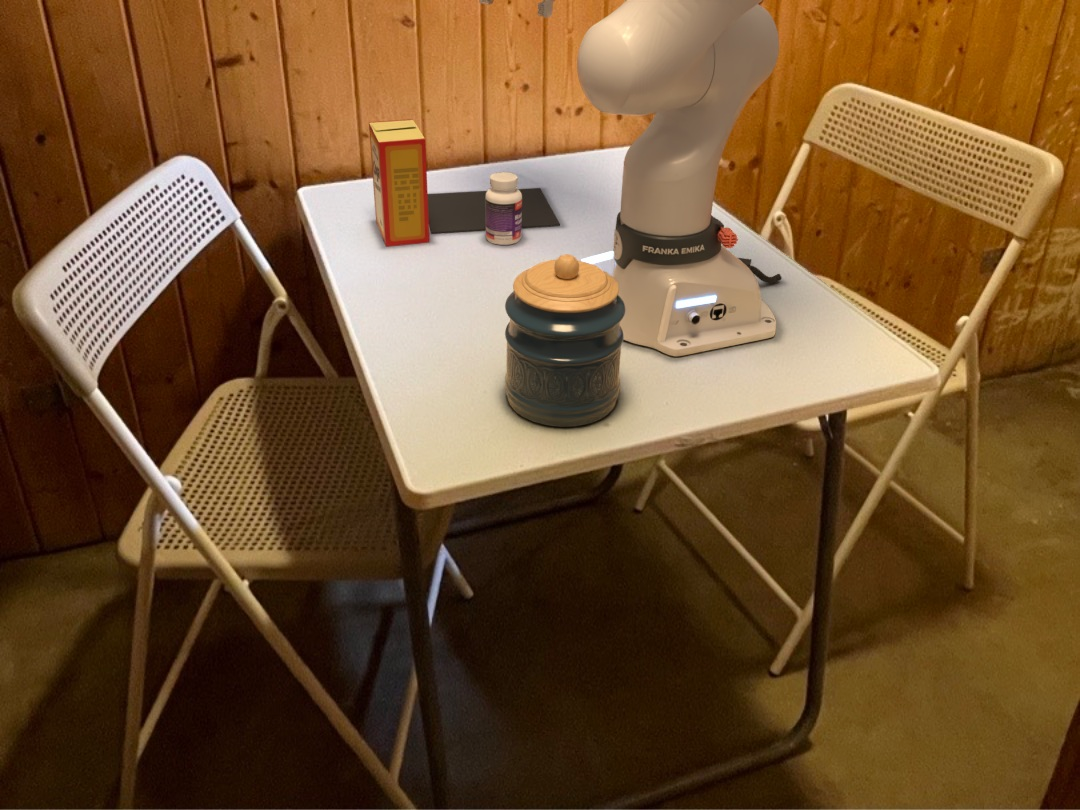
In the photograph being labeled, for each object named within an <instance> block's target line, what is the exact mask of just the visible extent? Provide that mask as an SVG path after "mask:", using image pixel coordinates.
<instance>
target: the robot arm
mask: <svg viewBox="0 0 1080 810" xmlns="http://www.w3.org/2000/svg"><path fill="white" fill-rule="evenodd" d="M494 1H495V0H478V2H479V4H483V5H487V6H490V5H493V3H494ZM762 1H763V0H625V1H624V2H623V3H622V4H620V6H618V7H617V8H616V9H615V10H614V11H612V12H611V13H610V14H608V15H607V16H606V17H604V18H602V19H601V20H599V21H598V22H596V23H594V24H592V26H590V27H589V29H587V30H586V32H585V34H584V36H583V38H582V39H581V42H580V45H579V49H578V52H577V59H576V69H577V71H576V72H577V78H578V82H579V85H580V87H581V90H582V92H583V94H584V95H585V97H586V99H587V100H588V101H589V102H590V104H591V105H592V106H593V107H594V108H595V109H596V110H597V111H599V112H601V113H603V114H608V115H619V116H639V117H640V116H648V115H651V114H652V115H653V114H654V116H653V118H652V119H651V121H650V123H649V124H648V126H647V127H646V128H645V130H643V132H642V133H641V134H640V135H639V136H638V137H637V138H636V139H634V141H633V142H632V144H631V145H630V146H629V148H628V149H627V151H626V153H625V156H624V160H623V167H622V168H623V170H622V181H621V182H622V183H621V196H620V211H619V212H618V213H617V215H616V219H615V229H614V232H613V248H612V249H613V250H611V251H607V252H603V253H600V254H596V255H591V256H588V257H585V258H581V260H580V261H584V262H587V263H590V264H593V265H595V264H596V263H597V264H598V263H601V262H604V261H608V260H612V259H614V265H613V266H614V267H613V271H612V275H611V276H612V277H613V278H614V279H615V280H616V281H617V283H618V285H619V293H618V295H619V296H620V297H621V299H622V300H623V302H624V304H625V308H626V310H625V315H624V317H623V319H622V320H621V321H620V326H621V328H622V330H623V335H624V338H623V341H626V342H629V343H632V344H634V345H639V346H644V347H647V348H652V349H655V350H657V351H659V352H661V353H663V354H665V355H668V356H671V357H683V356H687V355H692V354H698V353H702V352H708V351H713V350H718V349H722V348H726V347H727V348H729V347H732V346H737V345H742V344H747V343H752V342H757V341H762V340H766V339H771V338H774V337H775V334H776V332H777V320H776V317H775V315H774V313H773V311H772V309H771V308H770V307H769V305H768V304H767V303H766V302H765V301H764V300H763V299H762V297H761V296H762V295H761V289H760V285H759V282H758V280H757V279H759V280H760V281H762V282H763V283H766V284H775V283H777V282H779V281H781V280H782V275H781V274H780V273H777V274H774V275H773V276H768V275H766V274H765V273H764V272H763V271H761V270H760V269H759V268H757V267H756V266H754V265H752V258H744V257H737V256H736V255H734V254H733V253H732V252H731V251H730V250H729V249H731V248H734V247H735V245H737V243H738V240H739V239H738V235H737V234H736V233H735V232H734V231H733V229H732V228H730V227H725V225H724V223H723V222H722V221H721V220H720V219H718V218H717V217H715V216H713V214H712V213H713V205H714V197H715V192H716V187H717V186H716V184H717V179H718V173H719V169H720V163H721V159H722V157H723V153H724V150H725V147H726V146H727V142H728V140H729V137H730V135H731V133H732V131H733V129H734V127H735V125H736V122H737V121H738V118H739V116H740V115H741V113H742V111H743V109H744V108H745V106H746V104H747V102H748V101H749V100H750V99H751V97H752V96H753V94H755V92H756V91H757V89H758V88H759V87H760V86H761V85H762V84H763V83H764V82H766V80H767V79H768V78H769V77H770V76H771V74H773V71H774V69H775V67H776V65H777V62H778V58H779V52H780V38H779V32H778V28H777V25H776V23H775V20H774V18H773V16H772V15H771V14H770V12H769V10H767V9H766V8H765V7H764V6H762V5H760V3H761V2H762ZM555 2H556V0H543V1H540V2H538V3H537V17H538V16H539V17H543V18H550V17H552V15H553V8H554V3H555Z"/></svg>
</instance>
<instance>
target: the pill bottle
mask: <svg viewBox="0 0 1080 810" xmlns="http://www.w3.org/2000/svg"><path fill="white" fill-rule="evenodd" d="M518 179H519V178H518V176H517V174H515V173H513V172H506V171H500V172H495V173H492V174H491V175H490V176H489V186H490V188H488V189H487V190H486V191H487V192H486V231H485V239H486V240H487V241H488V242H489V243H491V244H494V245H499V246H508V245H513V244H516V243H518V242H520V241H521V240H522V230H523V228H522V194H521V192H520V191H519V190H518V189H519V188H518V184H519V182H518Z"/></svg>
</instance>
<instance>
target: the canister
mask: <svg viewBox="0 0 1080 810" xmlns="http://www.w3.org/2000/svg"><path fill="white" fill-rule="evenodd" d="M612 276H613V275H611V274H610V273H607V272H606V271H605V270H603V269H602V268H600V267H599V266H597V265H595V264H590V263H587V262H584V261H581V260H579V259H577V257H576V256H574V255H572V254H569V253H568V254H567V253H566V254H565V253H564V254H561V255H559V256H558V257H557V258H556V259H549V260H546V261H542V262H538V263H537V264H534V265H532V266H531V267H530V268H528V269H526V270H524V271H522V272H520V273H519V274H518V275H517V276H516V277H515V278H514V280H513V283H512V290H513V291H512V292H511V293H510V294H509V295H507V298H506V300H505V304H504V309H505V313H506V314H507V316H508V318H509V321H508V323H507V324H506V327H505V330H504V339H505V341H506V373H505V376H504V383H505V384H504V388H505V389H504V390H505V393H506V396H507V401H508V404H509V406H510V407H511V408H512V410H513V411H514V412H516V414H518V415H520V416H521V417H523V418H524V419H526V420H529V421H531V422H534V423H537V424H539V425H544V426H550V427H557V428H558V427H560V428H570V427H571V428H572V427H579V426H586V425H588V424H592V423H595V422H598V421H599V420H601V419H603V418H605V417H606V416H607V415H609V414H610V413H611V412H612V411H613V409H615V407H616V403H617V400H618V397H619V394H620V389H621V388H620V387H621V379H620V368H621V367H620V366H621V353H622V344H623V342H624V340H623V338H624V335H623V330H622V328H621V326H620V321H621V320H622V319H623V317H624V315H625V310H626V308H625V304H624V302H623V300H622V299H621V297H620V296H619V295H618V293H619V285H618V283H617V281H616V280H615V279H614V278H613V277H612Z"/></svg>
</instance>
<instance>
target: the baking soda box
mask: <svg viewBox="0 0 1080 810" xmlns="http://www.w3.org/2000/svg"><path fill="white" fill-rule="evenodd" d="M368 129H369V143H370V144H369V145H370V155H371V156H370V157H371V172H372V173H371V174H372V185H373V198H374V199H373V201H374V213H375V214H374V215H375V223H376V225H377V228H378V231H379V233H380V236H381V238H382V240H383V243H384V245H385V247H387V248H388V247H397V246H406V245H417V244H426V243H430V242H431V241H430V240H431V239H430V226H429V216H428V194H429V192H428V170H427V146H426V145H427V144H426V138H425V136H424V135H423V133H422V132H421V130H420V128H419V126H418V124H416V122H415V121H414V119H413V118H411V119H408V118H407V119H395V120H381V121H380V120H379V121H369V122H368Z"/></svg>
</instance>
